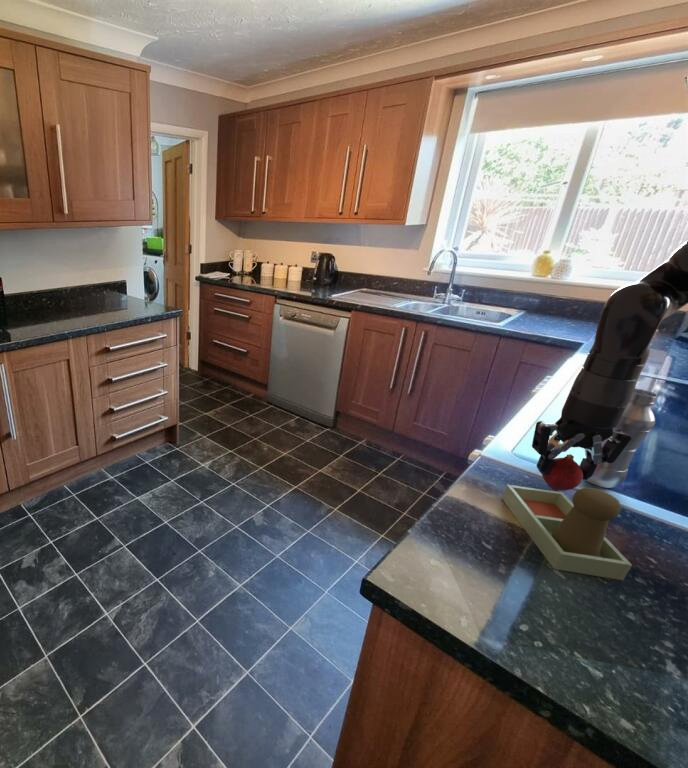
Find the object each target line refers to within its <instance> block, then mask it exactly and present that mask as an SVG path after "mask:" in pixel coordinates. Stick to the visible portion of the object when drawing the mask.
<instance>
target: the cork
mask: <svg viewBox="0 0 688 768" xmlns="http://www.w3.org/2000/svg"><path fill="white" fill-rule="evenodd" d="M571 502H572V503H573V505H574V506H573V508H572V509H571V510H570V512H569V513H568V514H567V515H566V517H565V518H564V519H563V521H562V522H561V523H560V524H559V526H558V527H557V528H556V530H555V531H554V532H553V534H552V535H551V536H552V537H553V538H554V540H555V541H556V542H557V543H558V545H559V546H560V547H561V548H562V550H563V551H564V552H570V553H576V554H583V555H589V556H595V557H598V556H599V553H600V549H601V546H602V543H603V539H604V536H605V537H606V532H607V530H608V526H609V523H610V521H611V520H614V519H616V518H617V517H618V516H619V515H620V513H621V510H622V506H621V503H620V500H618V499H617V498H616V497H615V496H613V495H612V494H610V493H609V492H606V491H604V490H601V489H598V488H593V487H581V488H580V489H577V490H576V491H575V492H574V494H573V496H572V500H571Z"/></svg>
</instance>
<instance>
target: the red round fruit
mask: <svg viewBox="0 0 688 768" xmlns="http://www.w3.org/2000/svg"><path fill="white" fill-rule="evenodd" d="M574 458H575V456H574V455H573V454H571V453H569V454H566V455H565V456H564V457H555V458H554V459H555V461H554V463H553V466H552V468H551V470H550V472H549V474H548V475H543V474H542V473H541V476H542V479H543V481H544V482H545V483H546V485H547V486H548V487H549V488H550V489H551V490H552V491H557V492H563V491H570V490H573V489H575V488H578V486H579V485H580V484H581V483H582V481H583V480H582V479H583V472H582V470H581V468H580V466H579V465H580V464H579V463H578V462H576V461H575V460H574Z"/></svg>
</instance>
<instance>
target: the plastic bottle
mask: <svg viewBox="0 0 688 768" xmlns="http://www.w3.org/2000/svg"><path fill="white" fill-rule="evenodd" d="M657 398H658V394H657V393H655V392H653V391H650V390H646V389H643V388H635V390H634V393H633V395H632V397H631V399H630V401H629V403H628V405H627V407H626V409H625V411H624V413H623V415H622V417H621V419H620V421H619V423H618V425H617V426H616V427H614V428H613V430H617V429H619V430H621V431H623V432H625V433H626V434H628V435H629V436H630V437H631V440H630V442H629V443H628V444H627V446H626V447H625V448H624V449H623V451H622V452H621V453H620V455H619V456H618V457H617V459H616V460H615V461H614V462H613V463H607V462H602V463H601V464H599V465H597V467H596V469H595V471H594V473H593V475H592V476H591V477H590V478H588V480H585V481H586V482H588V483H590V484H593V485H595V486H598V487H601V488H604V489H605V488H606V489H614V488H617V487H619V486H621V485H622V484H623V483H624V481H625V480H626V479H627V475H628V473H629V472H628V471H629V467H630V465H631V461H632V459H633V458H634V457H633V456H634V454H635V453H636V451H637V449H638V448H639V446H640V445H641V443H642V442H643V440H644V439H645V438H646V437H647V435H648V434H649V433H650V432H651V431H652V430H653V428H654V426H655V425H656V417H655V414H654V412H653V410H652V408H651V406H652V407H653V406H654V405H655V404H656V400H657ZM607 440H608V439H606V440H604V441H603V442H601V445H602V447H603V446H604V444H605V443H606V442H607ZM610 452H611V451H610ZM610 452H609V453H610Z"/></svg>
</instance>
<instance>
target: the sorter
mask: <svg viewBox="0 0 688 768" xmlns="http://www.w3.org/2000/svg"><path fill="white" fill-rule="evenodd" d="M501 499H502V501H503V502H504V504H505V505H506V506H507V508H508V509H509V510H510V512H511V513H512V514H513V516H514V517H515V518H516V520H517V521H518V522H519V524H520V526H522V528H523V529H524V531H525V532H526V533H527V535H529V537H530V539H531V540H532V541H533V543H534V545H536V547H537V548H538V550H539V551H540V552H541V554H542V555H543V557H544V558H545V559H546V560H547V562H548V563H549V564H550V566H551V567H552V568H553V569H554V570H558V571H563V572H564V571H565V572H570V573H577V574H582V575H587V576H588V575H589V576H593V577H598V578H599V577H601V578H606V579H611V580H617V581H624V579H625V578H626V577H627V574H628V573H629V571H630V570H631V568H632V566H633V565H632V563H631V562H630V560H628V559H627V558H626V557H625V556H624V555H623V554H622V553H621V551H619V550H618V549H617V548H616V546H614V544H613V543H612V542H610V540H609V539H608V538H607V537H606V535H605V536H604V539H603V543H602V546H601V549H600V553H599V556H598V557H595V556H589V555H583V554H576V553H570V552H564V551H563V550H562V548H561V547H560V546H559V545H558V543H557V542H556V541H555V540H554V538H553V537H552V536H551V535H552V534H553V532H554V531H555V530H556V528H557V527H558V526H559V524H560V523H561V522H562V521H563V519H564V518H565V517H566V515H567V514H568V513H569V512H570V510H571V509H572V508H573V506H574V505H573V502H572V500H570V499H569V497H568V496H566V494H565V493H563V491H556V490H550V489H549V490H548V489H543V488H542V489H541V488H535V487H534V488H533V487H528V486H527V487H526V486H520V485H512V484H506V486H505V488H504V491H503V493H502V495H501Z"/></svg>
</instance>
